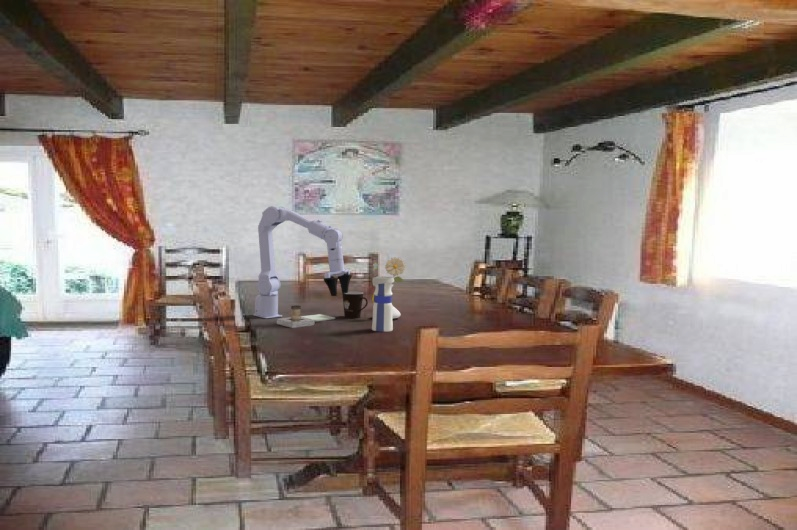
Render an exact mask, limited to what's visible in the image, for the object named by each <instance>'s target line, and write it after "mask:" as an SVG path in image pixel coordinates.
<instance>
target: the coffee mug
mask: <svg viewBox="0 0 797 530" xmlns="http://www.w3.org/2000/svg"><path fill="white" fill-rule="evenodd" d="M363 300H365V305H364V306H363V302H364V301H363ZM342 302H343V303H342V304H343V314H344V318H345V319H361V315H362V311H363V310H364V309H365V308H366V307H367V306H368V303H369V302H368V299H367V298H366V297H364V292H362V291H348V293H342Z"/></svg>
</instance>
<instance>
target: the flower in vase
mask: <svg viewBox="0 0 797 530" xmlns="http://www.w3.org/2000/svg"><path fill="white" fill-rule="evenodd" d="M384 266H385V267H384V269H385V270H386V274H389V275H391V276H392V277H393V278H394V282H395V283H402V282H404V279H403V278H402V277H401V276H399V275H402V274H404V271H405V270H406V265H405V263H404V260H403V259H401V258H399V257H398V258H397V257H394V258H392V257H391V259H388V260H387V261H386V264H385V265H384ZM393 287H394V284H392V285H391V290H392V288H393ZM392 307H393V314H392V320H394V319H397V318H400V317H401V315H402V314H401V312H400V311H399V310H398V309H397V308H396V307H395V306H394V305H393V304H392Z"/></svg>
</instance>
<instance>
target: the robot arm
mask: <svg viewBox="0 0 797 530" xmlns="http://www.w3.org/2000/svg"><path fill="white" fill-rule="evenodd" d="M287 221H289V222H292V223H294V224H297V225H299V226H301V227H304V228H306V229H307V231H308V232H309V234H310V235H313V236H315V237H317V238H318V239H321V240H322V241H324V242H325V244H326V248H327V256H328V257H327V258H328V268H329V269H328V270H329V271H328V272H325V273H324V278H323V282H324V284H326V286H327V288H328V290H329V294H330V296H331V297H337V296H338V281H339V283H340V288H341V292H342V293H348V292H349V287H350V283H351V279H352V274H351V271H350V268H349V269H348V268H347V269H345V263H344V255H343V247H342V240H343V236H344V235H343V233H342V231H341V229H339V228H333V225H328V224H326V223H323V220H321V219H314V220H310V219H308V218H306V217H305V216H303V215H301V214H299V213H297V212H295V211H293V210H291V209H289V208H285V207H283V206H268V207H267V208H266V209H264V210H263V211H262V216H261V218H260V221H259V224H258V225H257V226H258V227H257V231H258V232H257V233H258V243H259V244H258V245H259V246H258V247H259V257H260V270H261V271H260V273H259V275H258V282H257V284H256V289H257V291H258V293H259V294H257V295H256V296H255V300H254V313H253V314H252V316H254V317H257V318H258V317H259V318H261V319H262V318H263V319H271V318H283V314H279V290H280V289H281V286H282V284H281V280H280V279H279V274H278V272H277V270H276V266H275V265H276V264H275V254H274V243H273V242H274V240H273V239H274V238H273V230H274V229H276V228H277V226H279V225H280V224H282V223H284V222H287Z"/></svg>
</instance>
